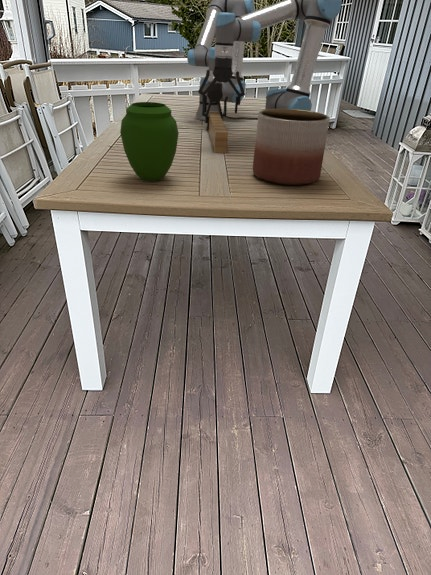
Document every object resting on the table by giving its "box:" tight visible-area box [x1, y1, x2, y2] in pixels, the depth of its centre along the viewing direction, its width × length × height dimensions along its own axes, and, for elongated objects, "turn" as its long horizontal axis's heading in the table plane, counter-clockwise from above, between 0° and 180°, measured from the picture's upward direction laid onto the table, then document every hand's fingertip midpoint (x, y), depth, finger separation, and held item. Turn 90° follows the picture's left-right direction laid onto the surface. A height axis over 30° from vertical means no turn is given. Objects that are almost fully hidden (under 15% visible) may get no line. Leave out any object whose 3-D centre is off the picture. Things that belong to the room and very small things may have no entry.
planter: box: [252, 109, 331, 186], centre depth 150 cm, size 25×25×22 cm
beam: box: [207, 111, 229, 154], centre depth 203 cm, size 54×6×9 cm, turn 4°
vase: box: [119, 101, 179, 182], centre depth 140 cm, size 20×20×24 cm
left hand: (213, 129), depth 221 cm, fingers closed on beam, 5 cm apart
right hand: (220, 112), depth 181 cm, fingers open, 13 cm apart
